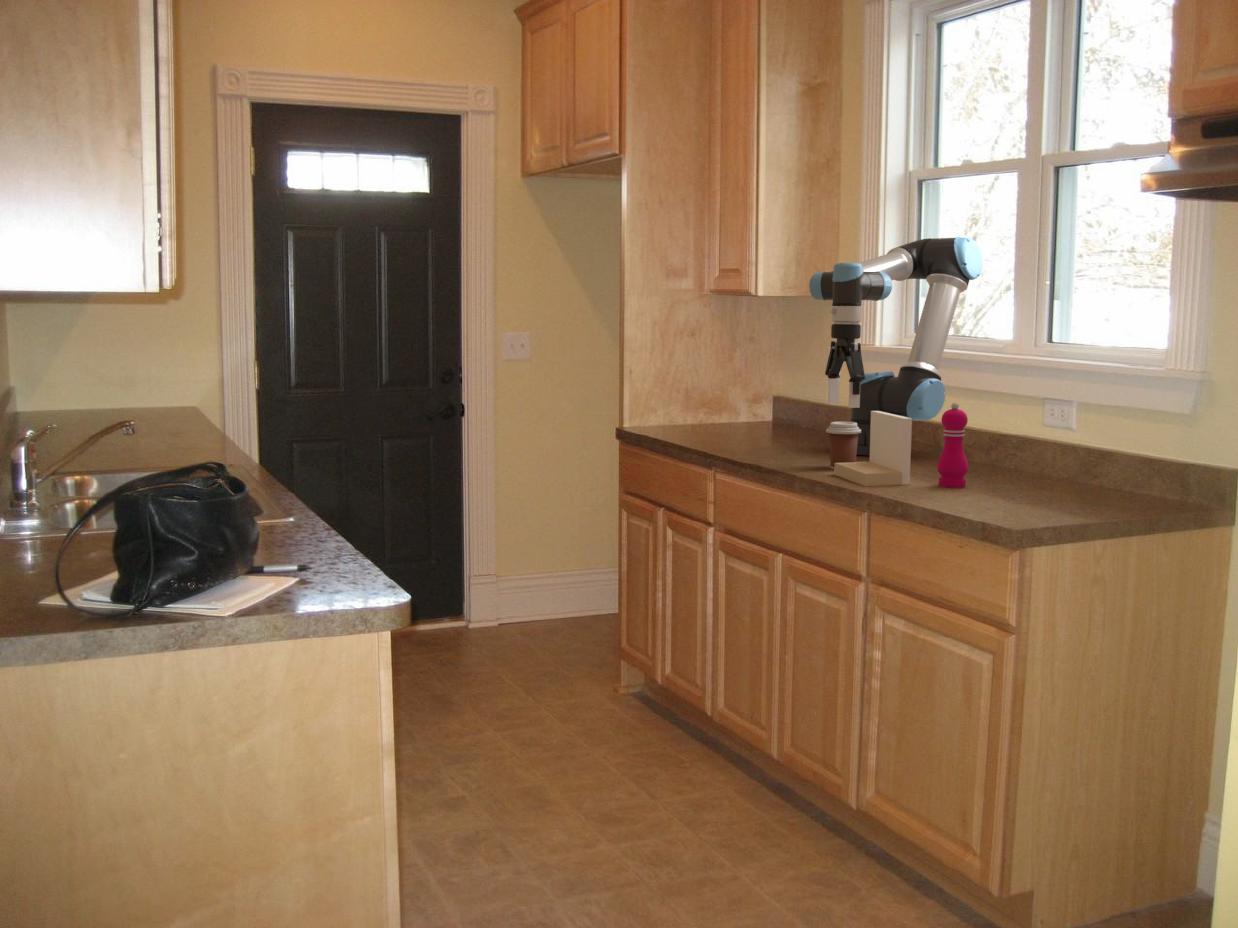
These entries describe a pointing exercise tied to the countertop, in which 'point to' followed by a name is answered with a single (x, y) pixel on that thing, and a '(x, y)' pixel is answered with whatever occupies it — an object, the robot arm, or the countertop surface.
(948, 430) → the pepper mill
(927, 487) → the countertop surface
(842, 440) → the coffee cup
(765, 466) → the countertop surface
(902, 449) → the board
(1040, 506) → the countertop surface
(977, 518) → the countertop surface
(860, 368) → the robot arm
